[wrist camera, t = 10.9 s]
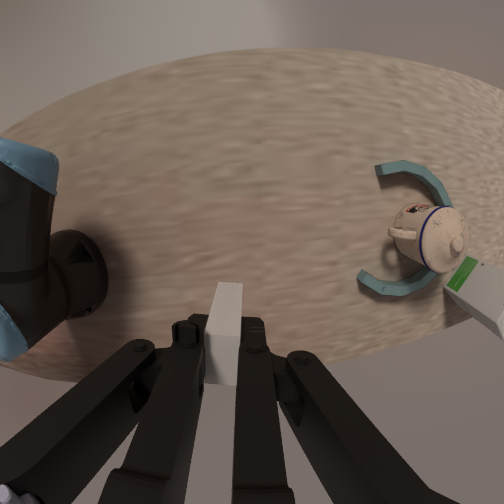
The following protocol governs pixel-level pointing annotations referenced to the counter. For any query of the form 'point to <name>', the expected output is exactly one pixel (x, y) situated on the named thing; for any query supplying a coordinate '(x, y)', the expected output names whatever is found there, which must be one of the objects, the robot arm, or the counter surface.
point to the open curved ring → (441, 200)
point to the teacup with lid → (431, 236)
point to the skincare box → (479, 292)
